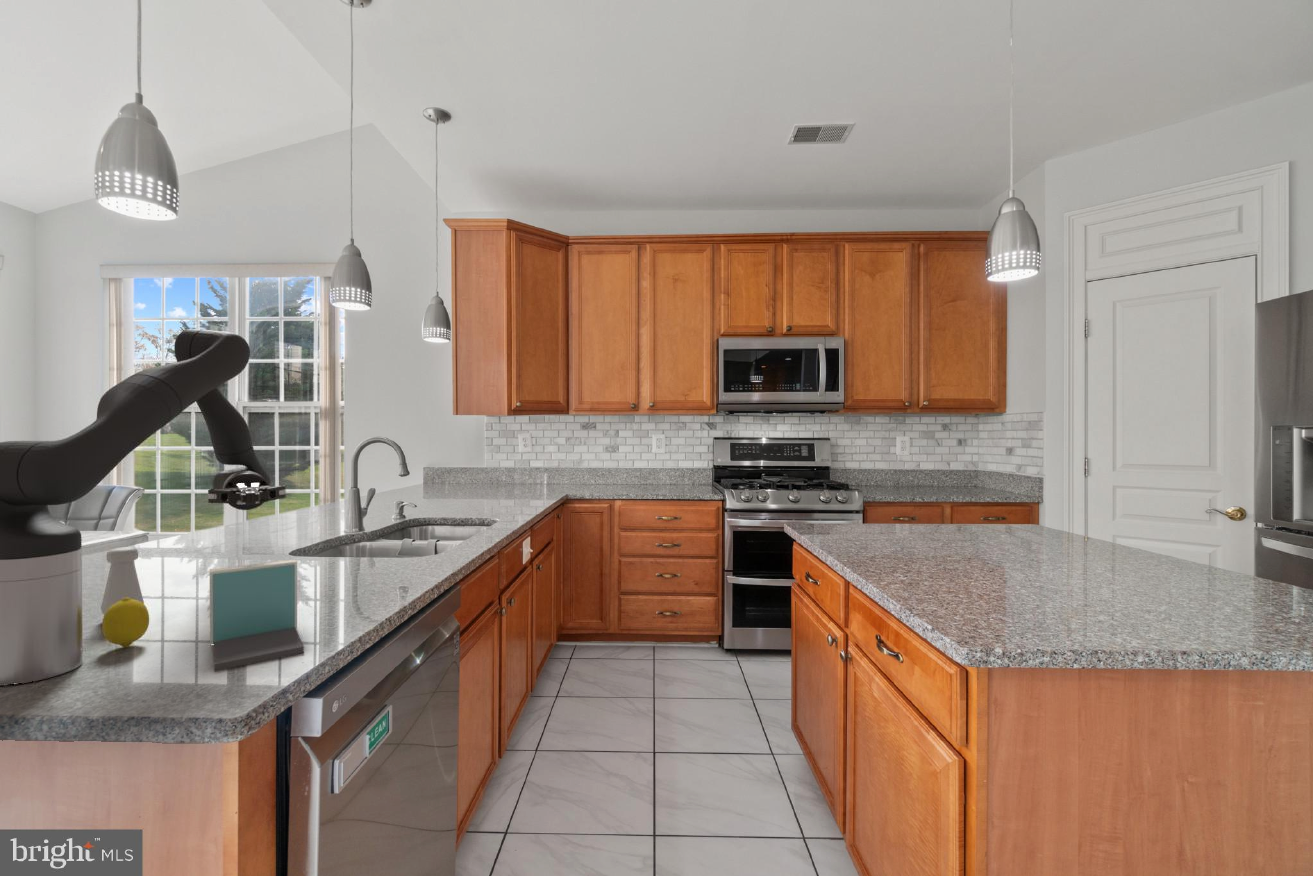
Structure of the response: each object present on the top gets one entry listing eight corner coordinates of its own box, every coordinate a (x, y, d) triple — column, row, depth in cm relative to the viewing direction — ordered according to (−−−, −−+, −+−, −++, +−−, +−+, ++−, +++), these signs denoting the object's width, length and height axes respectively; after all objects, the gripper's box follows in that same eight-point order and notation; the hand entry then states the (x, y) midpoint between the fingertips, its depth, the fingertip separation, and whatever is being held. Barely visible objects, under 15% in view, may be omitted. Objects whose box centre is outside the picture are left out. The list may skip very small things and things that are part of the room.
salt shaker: (135, 621, 103) (134, 550, 103) (94, 625, 101) (93, 552, 100) (149, 612, 108) (149, 544, 108) (111, 615, 106) (110, 546, 106)
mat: (214, 671, 82) (214, 664, 82) (214, 648, 91) (214, 641, 91) (303, 652, 89) (303, 646, 89) (295, 632, 97) (295, 627, 97)
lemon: (120, 655, 87) (120, 603, 87) (92, 652, 89) (92, 601, 88) (158, 642, 93) (158, 593, 93) (131, 639, 94) (131, 591, 94)
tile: (210, 646, 91) (209, 572, 91) (209, 642, 93) (209, 569, 93) (297, 630, 99) (297, 562, 99) (295, 626, 101) (295, 559, 100)
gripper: (204, 473, 113) (204, 480, 100) (283, 470, 121) (293, 476, 108) (205, 510, 113) (205, 522, 100) (284, 504, 122) (293, 515, 108)
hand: (251, 498), depth 104 cm, fingers closed
